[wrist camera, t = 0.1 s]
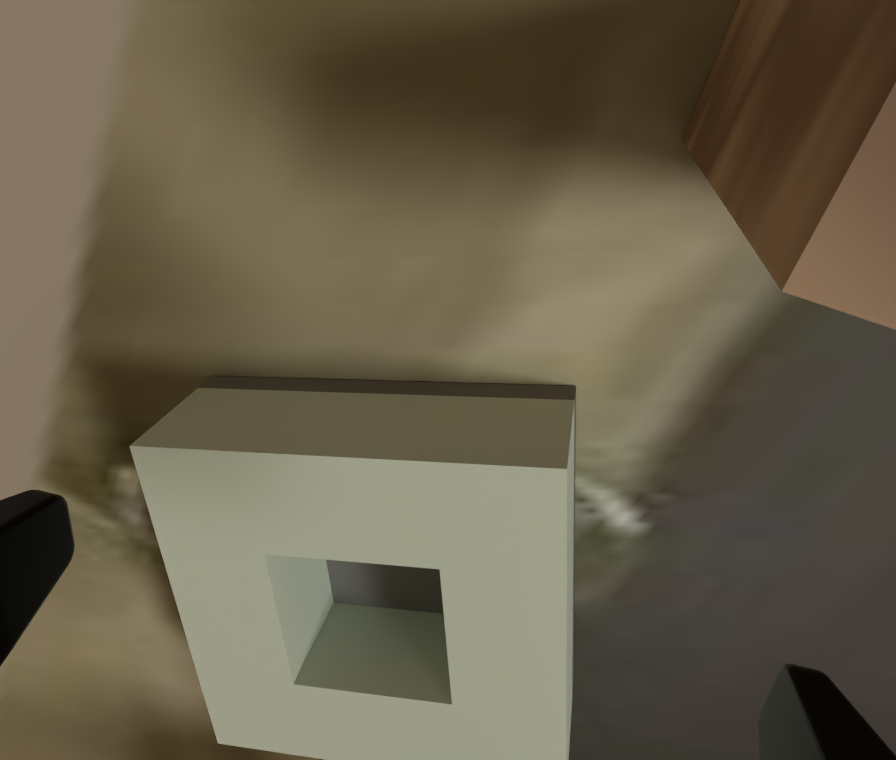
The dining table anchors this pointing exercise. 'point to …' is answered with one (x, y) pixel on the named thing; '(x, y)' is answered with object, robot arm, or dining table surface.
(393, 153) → the dining table surface
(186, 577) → the socket block
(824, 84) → the walnut peg
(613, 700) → the dining table surface
